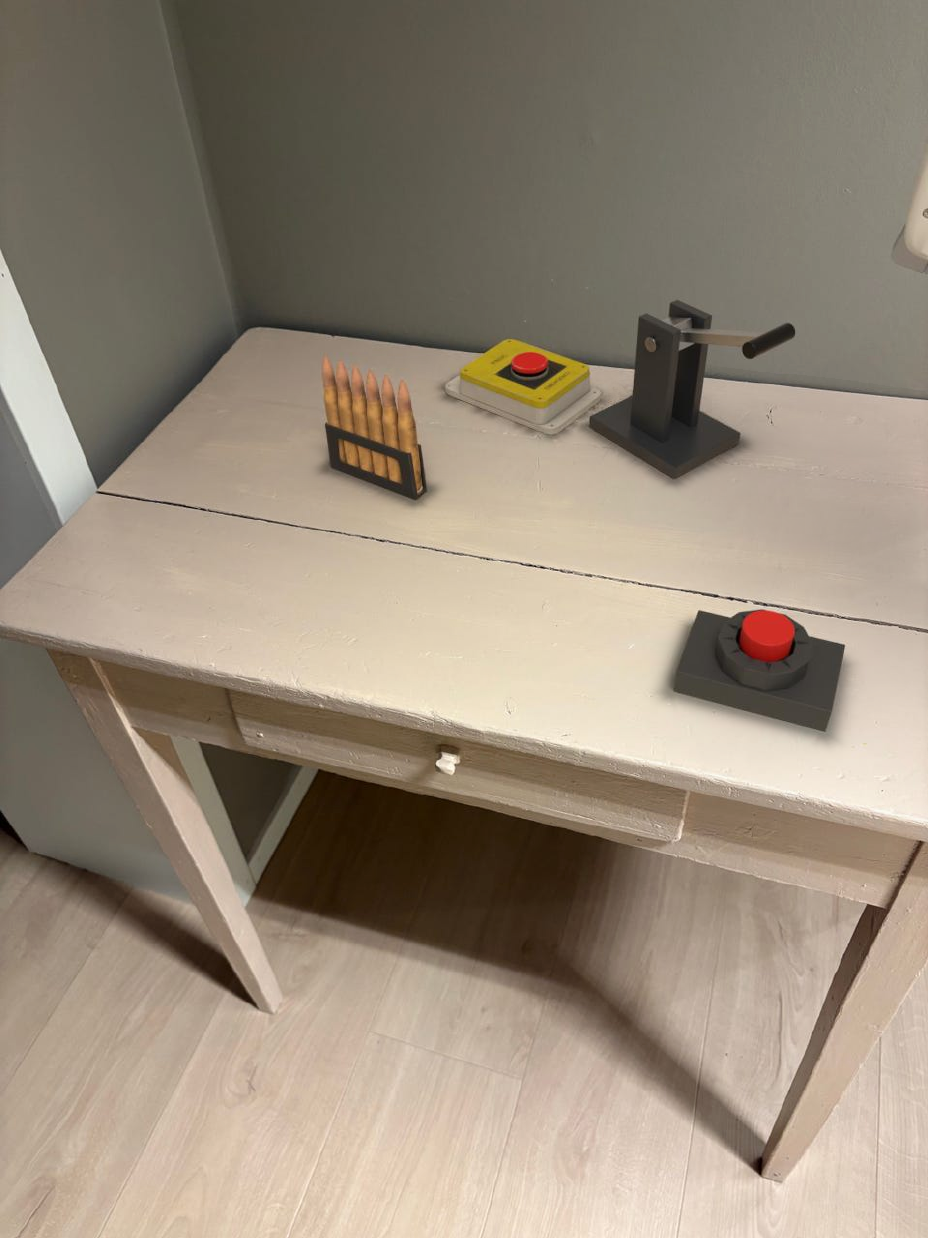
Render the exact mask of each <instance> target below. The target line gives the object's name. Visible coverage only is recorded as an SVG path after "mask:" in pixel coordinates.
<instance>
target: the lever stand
mask: <svg viewBox="0 0 928 1238" xmlns="http://www.w3.org/2000/svg"><path fill="white" fill-rule="evenodd" d="M668 307H669V309H668V317H678V318H691V321H692V328H699V329H712V328H711V327H712V321H713V315H712V314H709V313H708V312H705V311H703V310H701V309H699V308H697V307H695V306H692V305H690V304H688V303H686V302H684V301H681V300H679V299H675V300H673V301H671V302H669V306H668ZM680 335H681V330H680V329H678V328H676V327H674V326H672V325H670V324H668V323H665V322H663V321H662V320H661V319H660V318H657V317H655V316H652V315H651V314H649V313H647V312H646V313H643V314H641V315H639V316H638V320H637V334H636V347H635V360H634V372H633V374H634V375H633V384H632V395H631V396H629V397H626V398H624V399H622V400H620V401H618V402H615V403H614V404H612V405H609V406H608V407H605V408H604V409H602V410H600V411H598V412H595V413H593V414H591V415H589V419H588V420H589V422H588V427H589V428H590V429H592V430H593V431H595V432H597V433H598V434H600V435H601V436H603V437H605V438H606V439H608V440H610V441H611V442H613V443H615V444H616V445H618V446H619V447H621V448H622V449H624V450H626V451H627V452H629V453H631V454H632V455H634V456H635V457H637V458H639V459H641V460H643V461H644V462H646V464H649V465H651V466H652V467H654V468H656V469H657V470H658V471H660V472H662V473H663V474H665V475H667V476H669V477H670V478H672V480H673V479H674V480H675V479H677V478H679V477H681V476H683V475H685V474H686V473H688V472H690V471H692V470H694V469H696V468H698V467H699V466H701V465H703V464H704V463H706V462H709V461H710V460H712V459H715V457H717V456H719V455H722V454H723V453H725V452H726V451H729V450H731V449H732V448H734V447H735V446H737V445H739V444H740V441H741V431H738V430H736V429H735V428H733V427H731V426H729V425H727V424H725V423H723V422H721V421H719V420H718V419H716V418H715V417H712V416H711V415H709V414H707V413H705V412H703V411H701V410H700V409H701V404H702V403H701V402H702V395H703V387H704V380H705V372H706V365H707V357H708V351H709V344H700V343H694V344H693V345H690V346H688V347H686V348H684V349H682V350H680V351H679V344H680Z"/></svg>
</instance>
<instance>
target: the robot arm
mask: <svg viewBox="0 0 928 1238" xmlns="http://www.w3.org/2000/svg"><path fill="white" fill-rule="evenodd" d="M890 259H891V260H892V262H893V263H895V264H896V265H898V266H901V267H904V268H907V269H909V270H913V271H914V272H918V273H921V274H925V275H926V274H927V275H928V142H927V143H926V145H925V150H924V153H923V156H922V159H921V163H920V165H919V170H918V172H917V176H916V179H915V182H914V186H913V190H912V193H911V196H910V201H909V205H908V209H907V214H906V219H905V222H904V225H903V226H902V228H901V230H900V232H899V234H898V236H897V238H896V239H895V242H894V243H893V247H892V250H891V254H890Z"/></svg>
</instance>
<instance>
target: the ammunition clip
mask: <svg viewBox="0 0 928 1238" xmlns="http://www.w3.org/2000/svg"><path fill="white" fill-rule="evenodd" d="M332 365H333V364H332V363H331V361H330V359H329V358H328V355H323V357H322V362H321V379H322V386H323V403H324V410H325V416H326V422H325V423H324V430H325V436H326V443H327V450H328V456H329V457H328V458H329V465H330V468H331V469H333V470H337V471H339V472H341V473H344V474H346V475H349V476H351V477H355V478H357V479H359V480H362V481H364V482H367V483H370V484H372V485H375V486H378V487H380V488H383V489H386V490H388V491H391V492H393V493H396V494H399V495H401V496H403V497H406V498H409V499H411V500H413V501H416V500H418V499H419V498H420V497H421V496H422V495H423V494H425V493H427V491H428V487H427V479H426V472H425V465H424V458H423V457H424V456H423V451H422V444H420V443H419V441H418V433H417V432H418V431H417V423H416V420H415V417H414V411H413V408H412V400H411V395H410V391H409V389H408V387H407V384H406V382H405V381H404V380H403V379H401V380H400V381H399V384H398V387H397V388H398V389H397V400H396V395H395V390H394V386H393V384H392V381H391V379H390V377H389V376H388V374H384V376H383V378H382V383H381V392H380V388H379V384H378V381H377V378H376V376H375V374H374V372H373V370H372V369H368V371H367V375H366V379H365V383H364V379H363V376H362V374H361V371H360V369H359V368H358V366H357V365H356V364H354V365H353V366H352V369H351V375H350V378H349V373H348V370H347V368H346V366H345V364H344V362H343V360H341V359H339V360H338V361H337V365H336V373H335V370H334V368H333V366H332ZM380 393H381V394H380ZM396 401H397V402H396Z"/></svg>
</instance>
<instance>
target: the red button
mask: <svg viewBox="0 0 928 1238" xmlns="http://www.w3.org/2000/svg"><path fill="white" fill-rule="evenodd" d="M766 610H767V609H763V611H756V612H753V613H751V614H749V615H748V616H747V617H746V618H745V619H744V621H743V625H742V630H741V635H740V640H739V643H740V647H741V649H742V650H743V651H744V653H745V654H747V655H748V656H749V657H751V658H753V659H757V660H761V661H765V662H775V661H779V660H782V659H783V658H785V657H786V656H787V655H788V654H789V652H790V649H791V645H792V641H793V637H794V633H795V629H794V626H793V624H792V622H791V621H790V620H789V619H788V618H786V617H785V616H783V615H782V614H783V613H780V612H778V611H773V610H767V611H766Z"/></svg>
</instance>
